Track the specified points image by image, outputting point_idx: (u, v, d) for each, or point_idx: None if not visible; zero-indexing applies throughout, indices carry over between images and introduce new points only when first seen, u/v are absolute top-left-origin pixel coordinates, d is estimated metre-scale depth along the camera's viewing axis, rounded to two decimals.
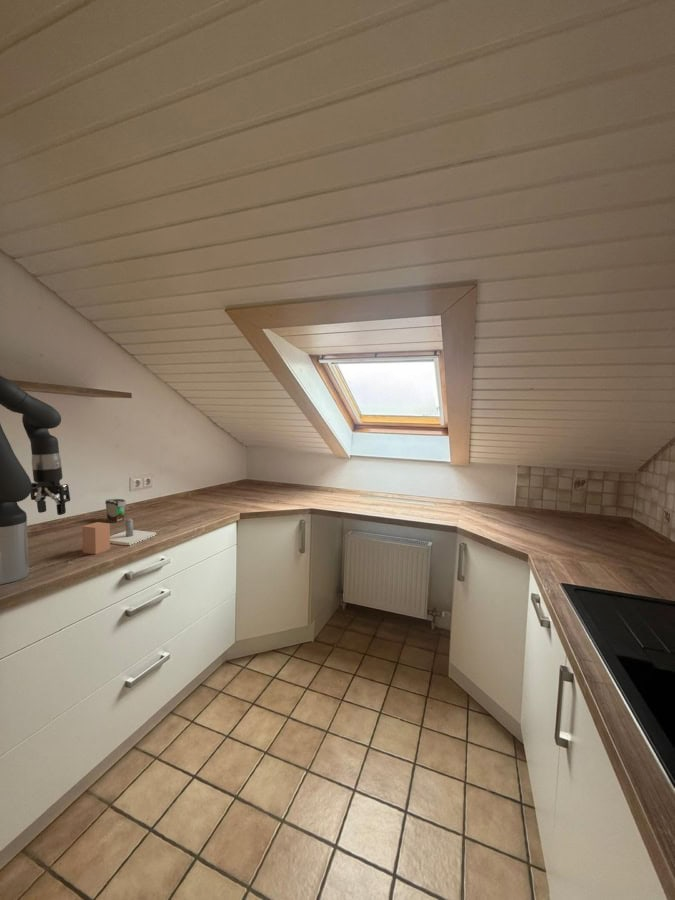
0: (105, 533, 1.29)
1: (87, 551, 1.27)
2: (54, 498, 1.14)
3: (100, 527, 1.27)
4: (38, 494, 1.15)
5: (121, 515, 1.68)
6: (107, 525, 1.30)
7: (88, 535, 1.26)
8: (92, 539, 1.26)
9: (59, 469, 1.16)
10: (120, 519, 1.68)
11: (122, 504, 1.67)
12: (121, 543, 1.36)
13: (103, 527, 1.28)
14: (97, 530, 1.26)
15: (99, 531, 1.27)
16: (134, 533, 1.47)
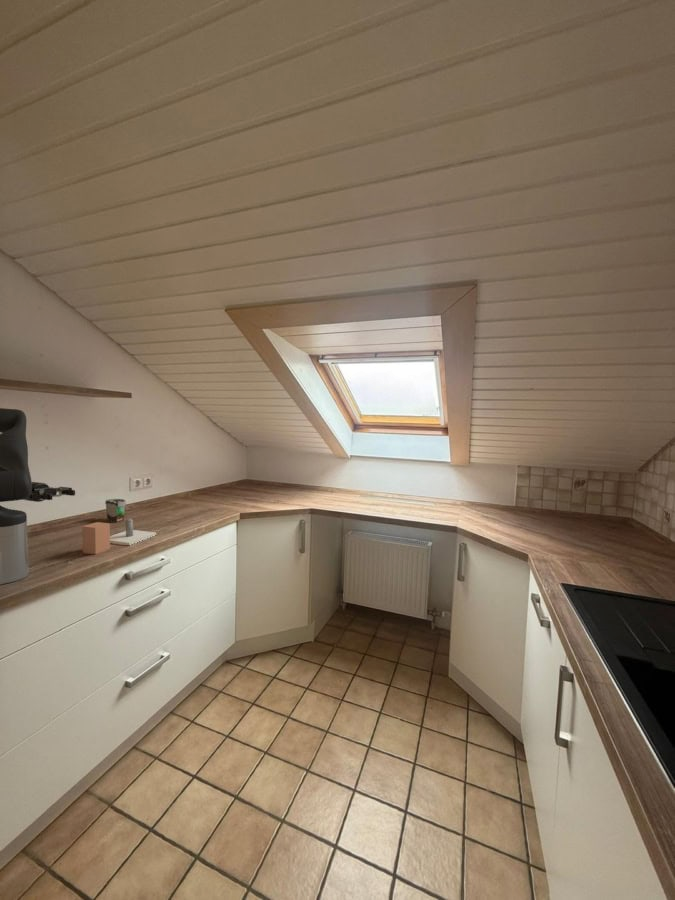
0: (105, 533, 1.29)
1: (87, 551, 1.27)
2: (61, 488, 1.37)
3: (100, 527, 1.27)
4: (42, 490, 1.31)
5: (121, 515, 1.68)
6: (107, 525, 1.30)
7: (88, 535, 1.26)
8: (92, 539, 1.26)
9: None
10: (120, 519, 1.68)
11: (122, 504, 1.67)
12: (121, 543, 1.36)
13: (103, 527, 1.28)
14: (97, 530, 1.26)
15: (99, 531, 1.27)
16: (134, 533, 1.47)
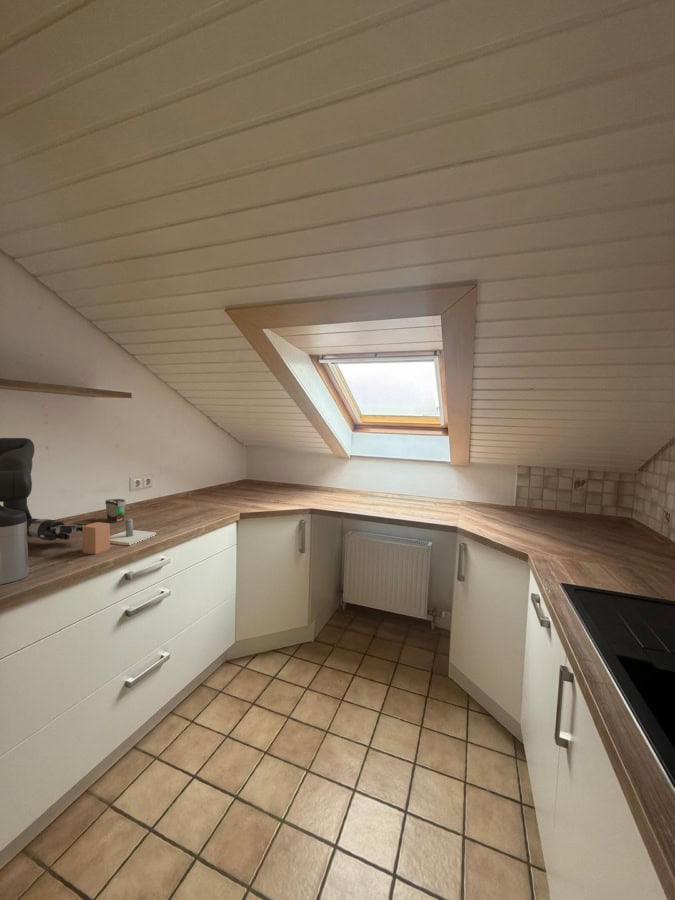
0: (105, 533, 1.29)
1: (87, 551, 1.27)
2: (76, 525, 1.36)
3: (100, 527, 1.27)
4: (58, 529, 1.30)
5: (121, 515, 1.68)
6: (107, 525, 1.30)
7: (88, 535, 1.26)
8: (92, 539, 1.26)
9: None
10: (120, 519, 1.68)
11: (122, 504, 1.67)
12: (121, 543, 1.36)
13: (103, 527, 1.28)
14: (97, 530, 1.26)
15: (99, 531, 1.27)
16: (134, 533, 1.47)
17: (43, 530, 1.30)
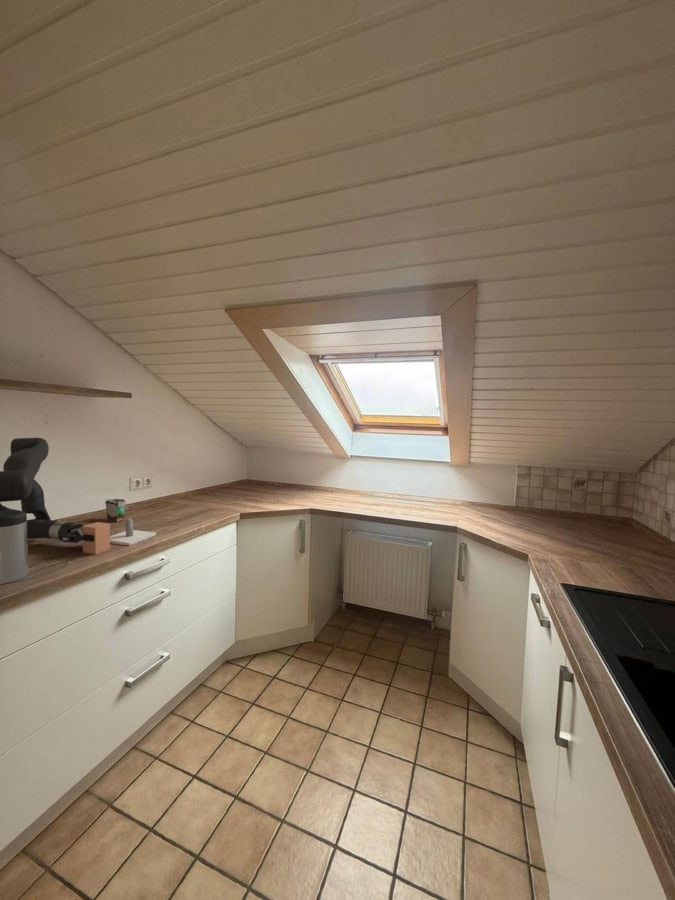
0: (105, 533, 1.29)
1: (87, 551, 1.27)
2: None
3: (100, 527, 1.27)
4: (80, 531, 1.28)
5: (121, 515, 1.68)
6: (107, 525, 1.30)
7: None
8: None
9: None
10: (120, 519, 1.68)
11: (122, 504, 1.67)
12: (121, 543, 1.36)
13: (103, 527, 1.28)
14: (97, 530, 1.26)
15: (99, 531, 1.27)
16: (134, 533, 1.47)
17: (64, 532, 1.28)
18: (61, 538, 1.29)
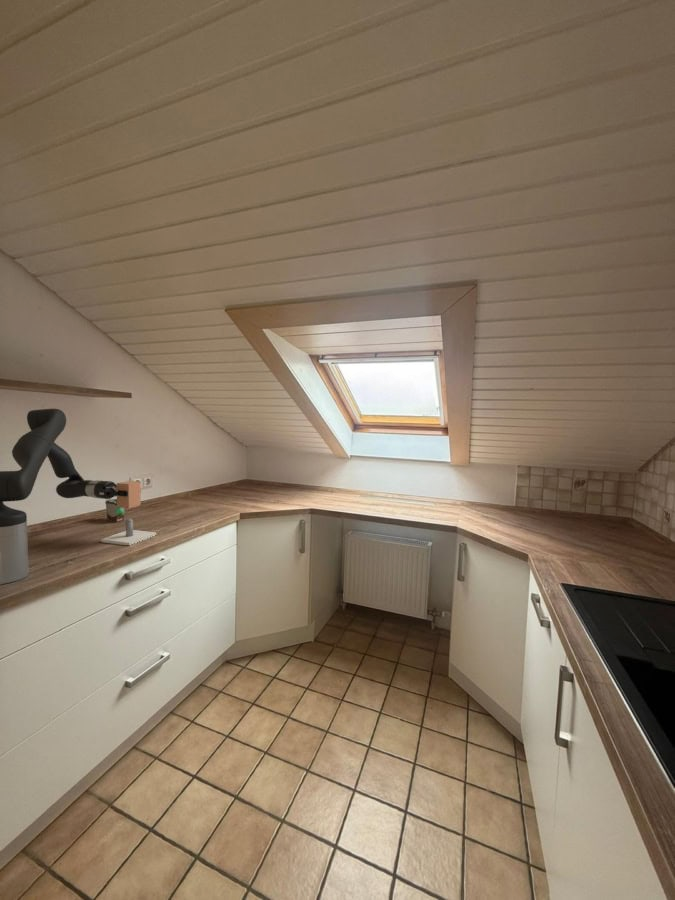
0: (136, 490, 1.43)
1: (120, 506, 1.40)
2: None
3: (132, 484, 1.41)
4: (114, 488, 1.42)
5: (121, 515, 1.68)
6: (138, 483, 1.44)
7: None
8: None
9: None
10: (120, 519, 1.68)
11: None
12: (121, 543, 1.36)
13: (135, 484, 1.42)
14: (130, 486, 1.40)
15: (132, 487, 1.41)
16: (134, 533, 1.47)
17: (99, 489, 1.42)
18: (97, 494, 1.42)
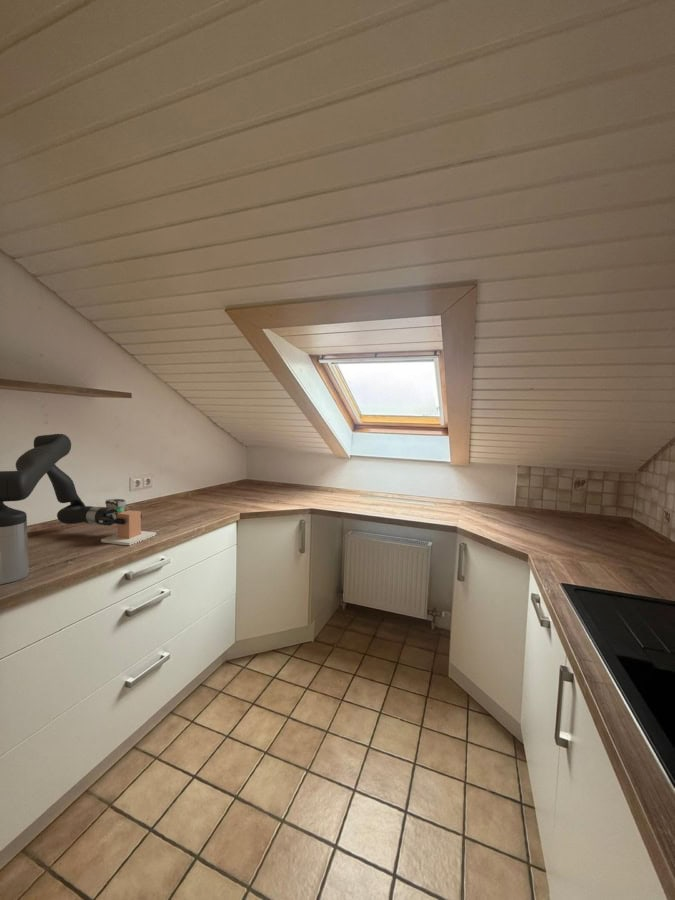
0: (137, 520, 1.44)
1: (121, 536, 1.41)
2: None
3: (133, 514, 1.42)
4: (114, 515, 1.42)
5: None
6: (138, 513, 1.45)
7: None
8: (126, 525, 1.40)
9: None
10: None
11: (122, 504, 1.67)
12: (121, 543, 1.36)
13: (135, 514, 1.43)
14: (130, 517, 1.41)
15: (132, 518, 1.42)
16: None
17: (100, 516, 1.43)
18: (98, 521, 1.43)
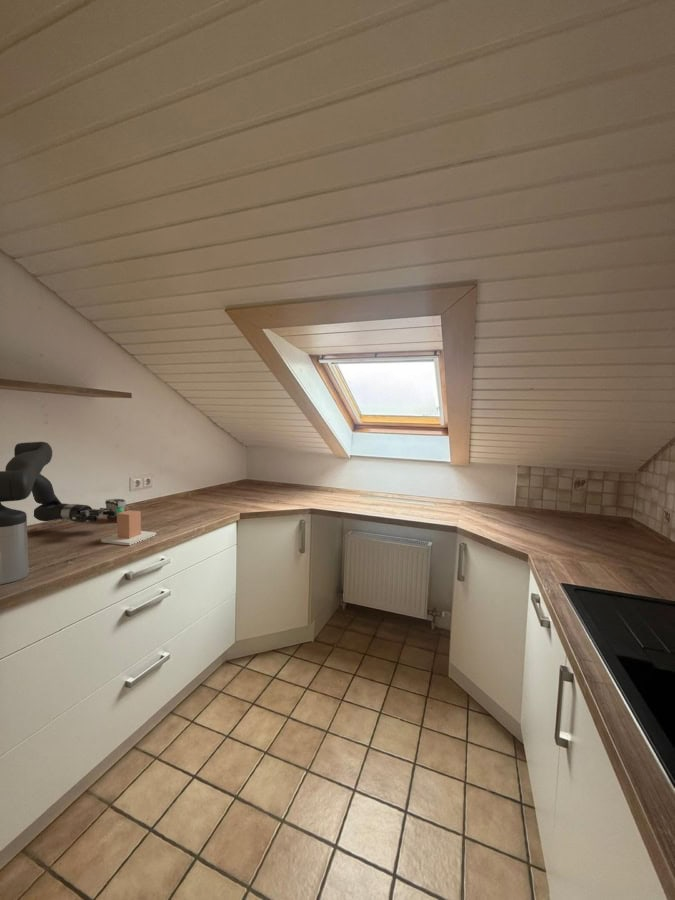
0: (137, 520, 1.44)
1: (121, 536, 1.41)
2: (103, 509, 1.51)
3: (133, 514, 1.42)
4: (87, 512, 1.45)
5: None
6: (138, 513, 1.45)
7: (122, 521, 1.41)
8: (126, 525, 1.40)
9: None
10: None
11: (122, 504, 1.67)
12: (121, 543, 1.36)
13: (135, 514, 1.43)
14: (130, 517, 1.41)
15: (132, 518, 1.42)
16: None
17: (74, 513, 1.46)
18: (72, 518, 1.46)
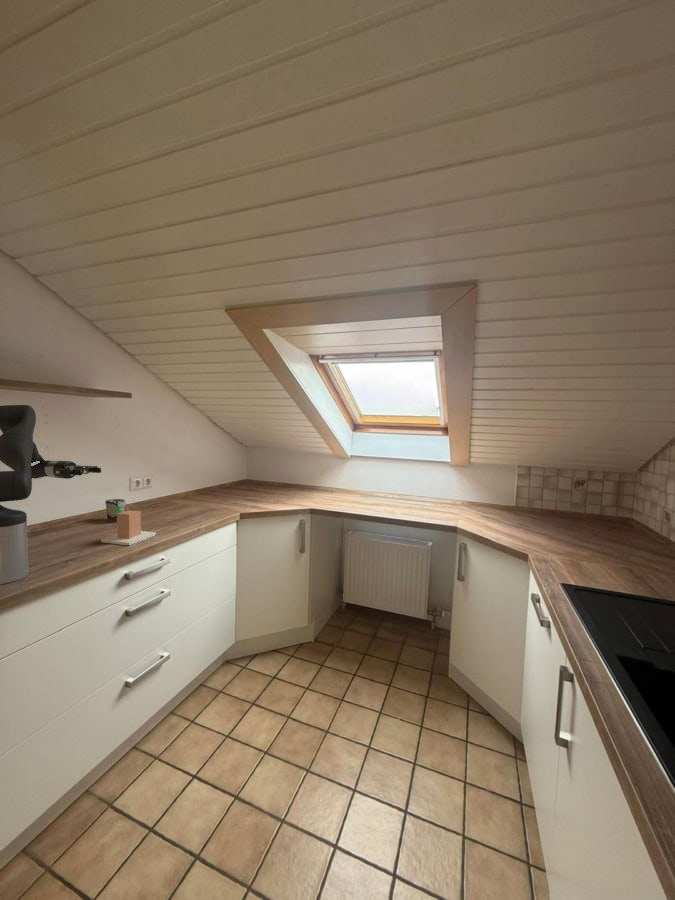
0: (137, 520, 1.44)
1: (121, 536, 1.41)
2: (88, 466, 1.48)
3: (133, 514, 1.42)
4: (71, 467, 1.42)
5: None
6: (138, 513, 1.45)
7: (122, 521, 1.41)
8: (126, 525, 1.40)
9: None
10: None
11: (122, 504, 1.67)
12: (121, 543, 1.36)
13: (135, 514, 1.43)
14: (130, 517, 1.41)
15: (132, 518, 1.42)
16: None
17: (58, 468, 1.43)
18: None
